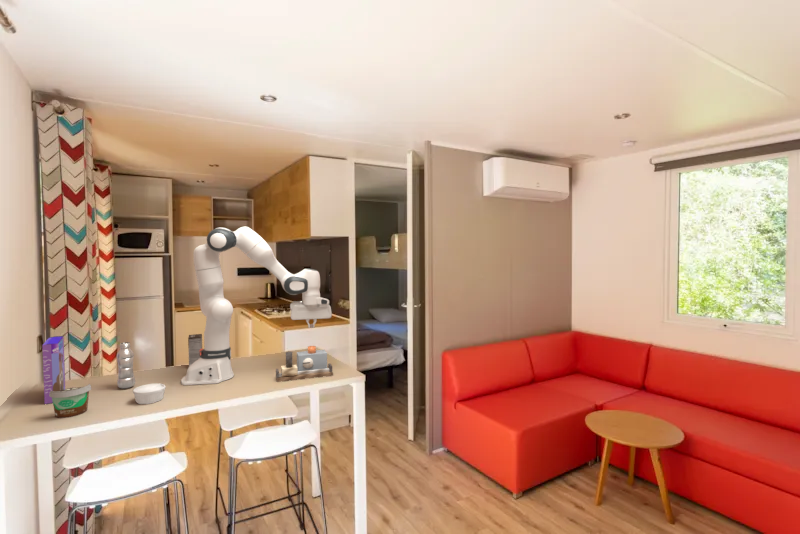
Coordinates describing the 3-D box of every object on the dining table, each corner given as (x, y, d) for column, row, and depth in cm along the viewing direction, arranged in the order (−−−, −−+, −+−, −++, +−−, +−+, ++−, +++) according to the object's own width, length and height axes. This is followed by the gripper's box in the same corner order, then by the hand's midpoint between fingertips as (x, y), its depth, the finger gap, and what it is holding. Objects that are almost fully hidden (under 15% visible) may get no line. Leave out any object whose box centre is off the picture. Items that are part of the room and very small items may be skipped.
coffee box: (189, 364, 217) (188, 334, 217) (202, 363, 220) (202, 333, 219) (188, 368, 209) (188, 338, 208) (202, 367, 212) (201, 336, 211)
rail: (276, 382, 188) (276, 372, 188) (275, 377, 195) (275, 368, 194) (332, 375, 197) (332, 366, 197) (329, 371, 204) (329, 362, 204)
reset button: (308, 353, 204) (308, 348, 204) (307, 352, 207) (307, 346, 207) (316, 353, 205) (316, 347, 205) (315, 351, 209) (315, 345, 209)
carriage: (282, 377, 189) (281, 354, 189) (281, 373, 195) (280, 351, 194) (297, 375, 192) (297, 353, 191) (296, 372, 197) (295, 350, 197)
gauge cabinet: (299, 374, 200) (298, 356, 199) (296, 369, 208) (296, 352, 207) (327, 371, 205) (327, 353, 204) (324, 366, 213) (324, 349, 212)
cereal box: (60, 402, 164) (58, 343, 163) (44, 404, 161) (42, 344, 160) (65, 389, 178) (63, 335, 177) (51, 391, 175) (49, 336, 174)
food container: (48, 422, 144) (47, 394, 144) (50, 416, 149) (48, 389, 149) (91, 414, 152) (90, 387, 151) (92, 408, 157) (91, 383, 156)
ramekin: (169, 400, 165) (168, 387, 165) (137, 408, 158) (136, 394, 157) (161, 393, 173) (161, 381, 173) (130, 400, 166) (130, 387, 165)
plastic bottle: (138, 385, 183) (137, 341, 182) (125, 391, 176) (123, 345, 176) (127, 384, 185) (126, 341, 184) (113, 389, 178) (112, 344, 177)
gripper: (290, 302, 199) (290, 330, 199) (332, 300, 206) (332, 327, 206) (289, 300, 204) (289, 327, 205) (329, 299, 212) (329, 325, 212)
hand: (311, 327), depth 206 cm, fingers closed
